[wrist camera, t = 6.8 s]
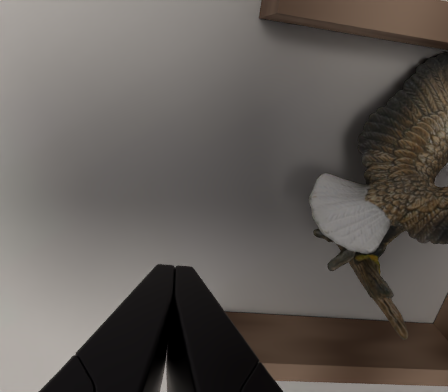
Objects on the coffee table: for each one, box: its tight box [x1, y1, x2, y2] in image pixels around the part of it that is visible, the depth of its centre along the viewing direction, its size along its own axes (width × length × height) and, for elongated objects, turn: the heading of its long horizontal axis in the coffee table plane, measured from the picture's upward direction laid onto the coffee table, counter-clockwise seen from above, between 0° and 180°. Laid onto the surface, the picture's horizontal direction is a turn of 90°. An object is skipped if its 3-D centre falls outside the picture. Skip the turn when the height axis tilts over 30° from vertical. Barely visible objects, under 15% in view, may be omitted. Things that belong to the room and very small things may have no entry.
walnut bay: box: [225, 0, 448, 386], centre depth 14 cm, size 14×15×4 cm
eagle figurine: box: [309, 52, 448, 340], centre depth 13 cm, size 8×7×9 cm
